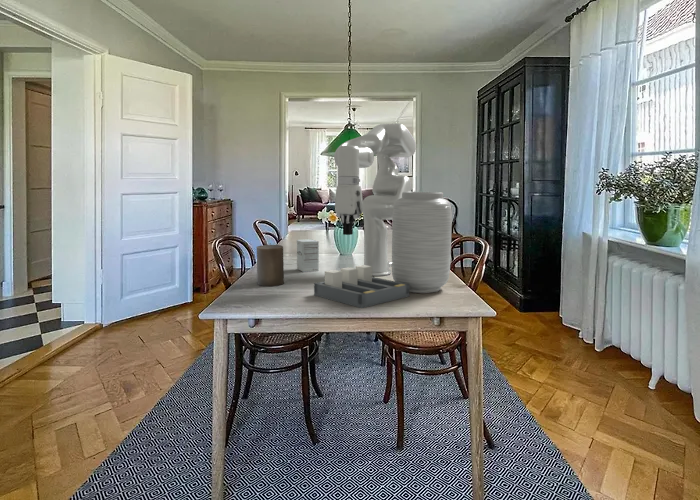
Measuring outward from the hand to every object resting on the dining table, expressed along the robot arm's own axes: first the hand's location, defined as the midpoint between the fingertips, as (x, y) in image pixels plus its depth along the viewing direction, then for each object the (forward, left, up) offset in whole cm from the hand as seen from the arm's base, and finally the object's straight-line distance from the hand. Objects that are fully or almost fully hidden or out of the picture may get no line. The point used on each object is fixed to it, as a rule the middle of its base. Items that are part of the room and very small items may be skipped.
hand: (347, 234), depth 171 cm
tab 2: (0, +8, -17) cm, 19 cm away
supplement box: (-9, -34, -19) cm, 40 cm away
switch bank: (+7, +14, -19) cm, 24 cm away
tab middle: (+7, +8, -17) cm, 20 cm away
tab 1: (+14, +8, -17) cm, 24 cm away
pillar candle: (+18, -22, -19) cm, 34 cm away
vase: (-16, +20, -19) cm, 32 cm away
